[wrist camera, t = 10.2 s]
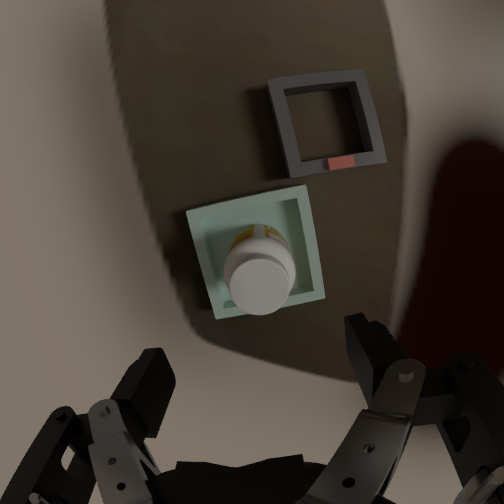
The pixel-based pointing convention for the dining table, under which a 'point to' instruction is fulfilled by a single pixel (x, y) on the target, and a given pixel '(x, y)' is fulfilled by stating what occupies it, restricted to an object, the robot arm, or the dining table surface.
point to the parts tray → (249, 213)
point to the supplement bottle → (259, 270)
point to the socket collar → (363, 112)
